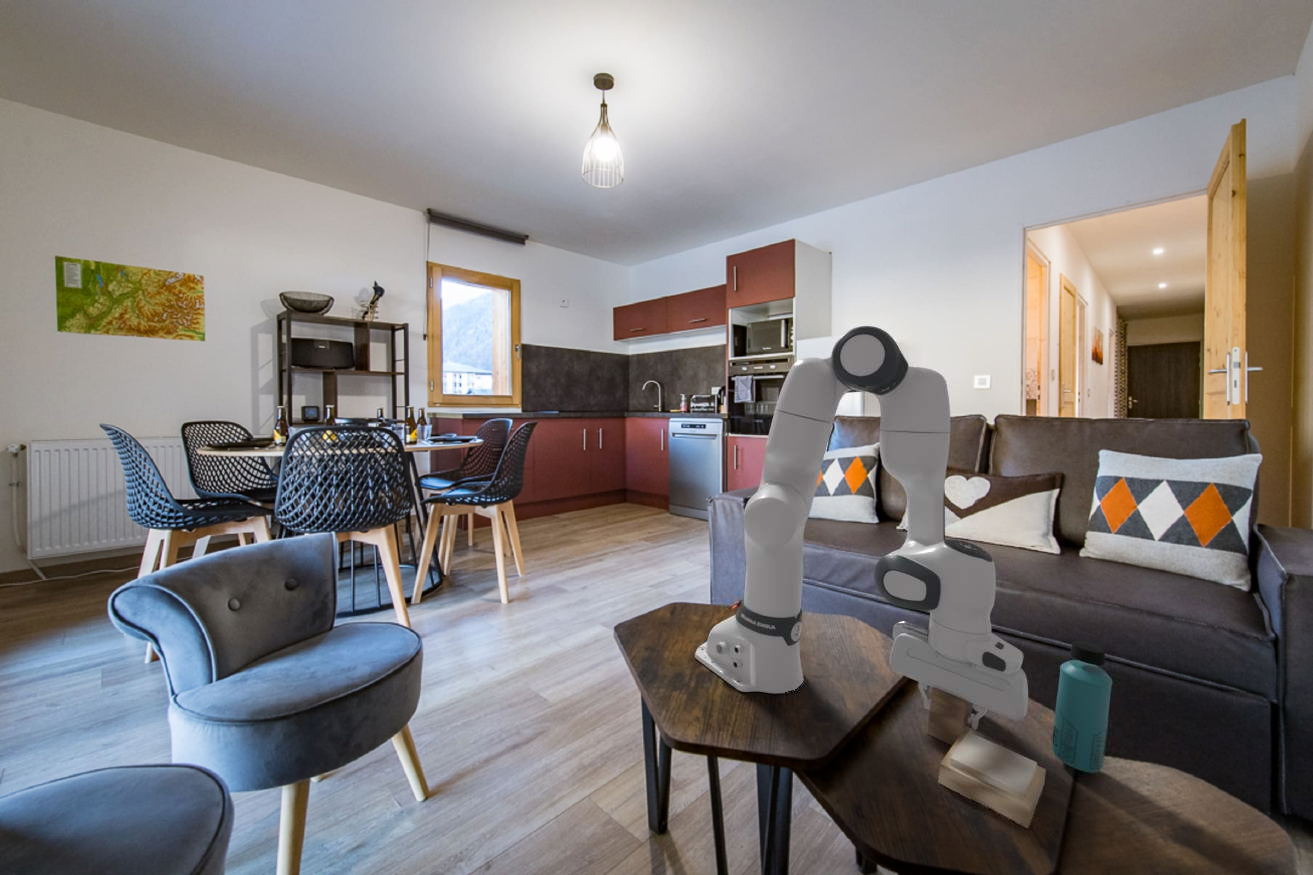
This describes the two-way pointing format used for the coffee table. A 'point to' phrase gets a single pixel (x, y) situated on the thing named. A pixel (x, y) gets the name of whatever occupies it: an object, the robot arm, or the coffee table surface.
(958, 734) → the walnut block
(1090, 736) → the beverage bottle
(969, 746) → the pedestal
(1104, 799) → the coffee table surface
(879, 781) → the coffee table surface
